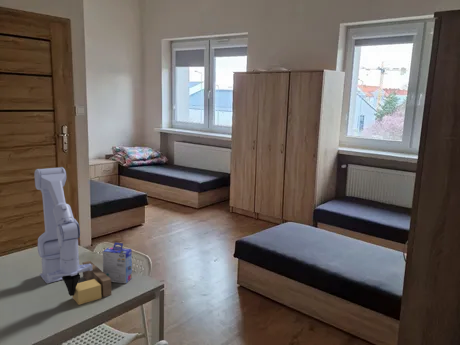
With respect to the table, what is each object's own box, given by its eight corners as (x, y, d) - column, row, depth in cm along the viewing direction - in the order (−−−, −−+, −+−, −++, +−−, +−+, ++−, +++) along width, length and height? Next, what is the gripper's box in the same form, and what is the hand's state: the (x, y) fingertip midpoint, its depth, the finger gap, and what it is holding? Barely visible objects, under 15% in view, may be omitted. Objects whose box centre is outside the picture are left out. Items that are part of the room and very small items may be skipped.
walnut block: (83, 277, 159) (82, 262, 158) (90, 275, 161) (90, 260, 159) (103, 297, 144) (102, 281, 142) (111, 294, 145) (111, 279, 144)
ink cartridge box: (132, 277, 159) (132, 243, 156) (126, 284, 154) (125, 248, 151) (109, 275, 161) (108, 240, 158) (102, 281, 156) (101, 245, 153)
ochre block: (72, 297, 142) (72, 284, 141) (95, 291, 147) (94, 278, 147) (78, 304, 138) (78, 291, 137) (101, 298, 143) (101, 284, 142)
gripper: (50, 266, 129) (52, 305, 131) (95, 256, 138) (96, 292, 141) (44, 259, 134) (46, 297, 137) (87, 249, 143) (89, 285, 146)
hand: (71, 294), depth 139 cm, fingers closed
